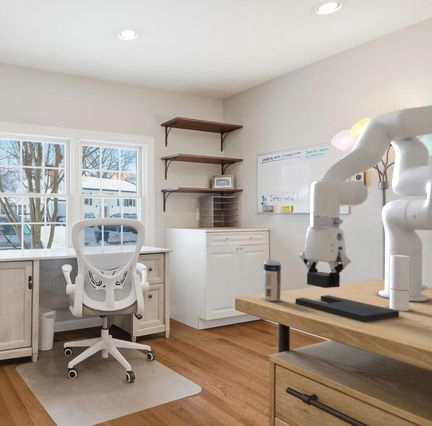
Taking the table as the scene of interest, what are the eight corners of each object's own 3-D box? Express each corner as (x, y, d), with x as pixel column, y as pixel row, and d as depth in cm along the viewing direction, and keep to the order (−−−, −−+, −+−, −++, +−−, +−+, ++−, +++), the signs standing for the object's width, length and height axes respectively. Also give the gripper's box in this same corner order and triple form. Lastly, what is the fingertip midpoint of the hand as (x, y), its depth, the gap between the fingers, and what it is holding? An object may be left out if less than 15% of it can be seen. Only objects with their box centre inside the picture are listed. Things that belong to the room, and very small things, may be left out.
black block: (320, 283, 114) (321, 271, 114) (339, 286, 109) (339, 274, 109) (306, 284, 112) (307, 272, 112) (325, 288, 106) (325, 275, 106)
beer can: (283, 302, 113) (283, 261, 113) (267, 301, 113) (267, 261, 113) (276, 298, 118) (276, 259, 118) (260, 298, 118) (261, 259, 118)
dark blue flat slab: (328, 299, 117) (328, 295, 117) (399, 316, 98) (399, 310, 98) (295, 303, 111) (295, 298, 111) (364, 322, 93) (364, 315, 93)
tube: (412, 311, 104) (412, 257, 104) (394, 310, 105) (395, 256, 105) (403, 307, 108) (404, 255, 108) (386, 306, 109) (387, 254, 109)
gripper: (362, 223, 104) (361, 289, 104) (307, 222, 120) (306, 278, 120) (344, 223, 101) (342, 290, 101) (290, 221, 117) (289, 279, 117)
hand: (323, 283), depth 110 cm, fingers closed on black block, 6 cm apart
